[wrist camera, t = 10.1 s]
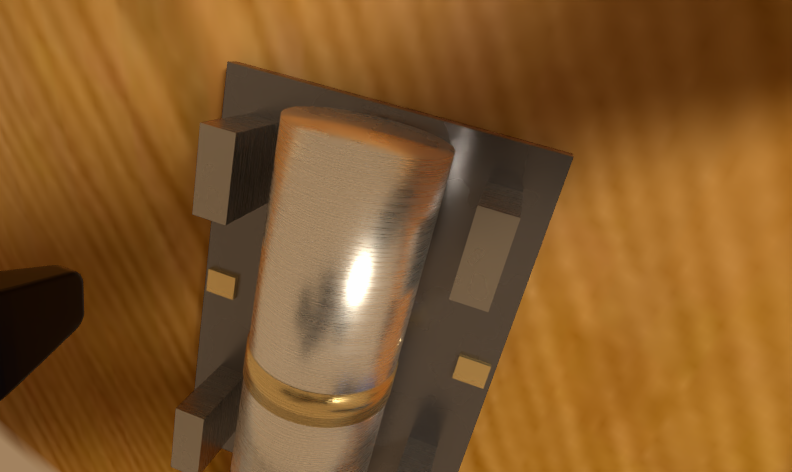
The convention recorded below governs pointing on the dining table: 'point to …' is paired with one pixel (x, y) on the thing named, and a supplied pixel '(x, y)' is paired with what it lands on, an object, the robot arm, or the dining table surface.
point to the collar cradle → (437, 291)
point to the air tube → (335, 286)
